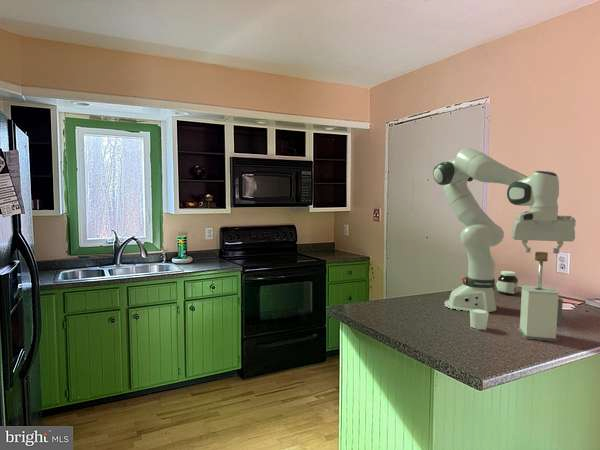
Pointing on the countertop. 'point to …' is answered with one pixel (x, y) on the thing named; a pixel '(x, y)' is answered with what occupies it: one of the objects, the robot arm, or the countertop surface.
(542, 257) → the plunger
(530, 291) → the block
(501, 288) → the spread jar
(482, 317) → the shot glass
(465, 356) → the countertop surface
